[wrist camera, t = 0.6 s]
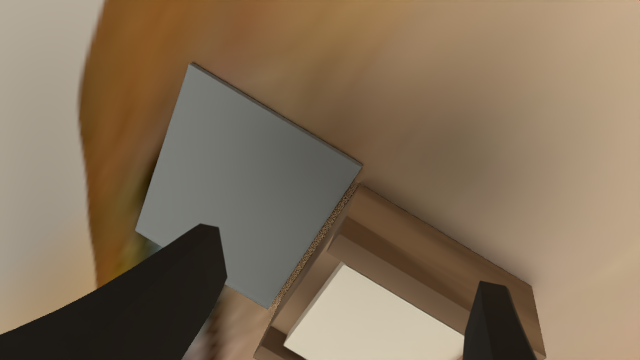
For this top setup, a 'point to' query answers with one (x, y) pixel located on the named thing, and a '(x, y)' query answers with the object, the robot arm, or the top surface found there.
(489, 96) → the top surface
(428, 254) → the walnut box
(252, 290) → the slate mat
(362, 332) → the lid
